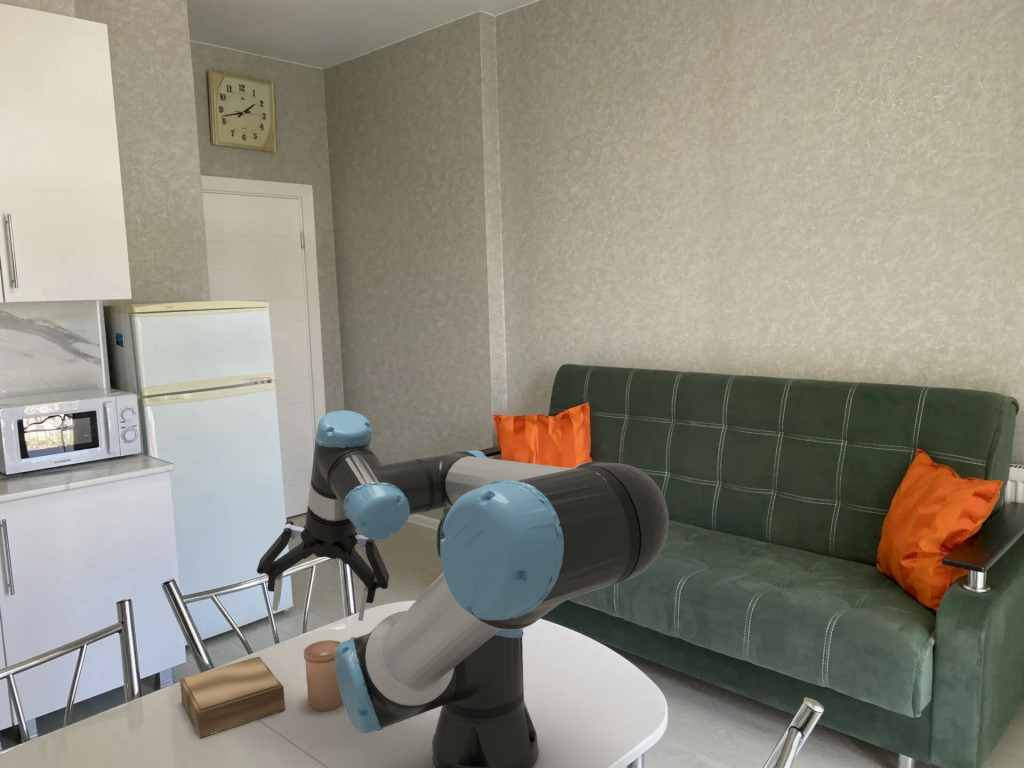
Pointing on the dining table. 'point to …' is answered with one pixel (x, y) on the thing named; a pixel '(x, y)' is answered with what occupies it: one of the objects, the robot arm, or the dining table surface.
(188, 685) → the stand
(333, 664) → the canister
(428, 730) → the dining table surface
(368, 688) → the robot arm
